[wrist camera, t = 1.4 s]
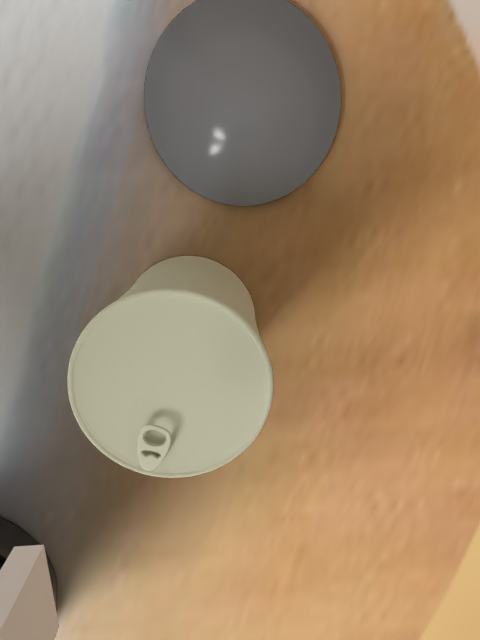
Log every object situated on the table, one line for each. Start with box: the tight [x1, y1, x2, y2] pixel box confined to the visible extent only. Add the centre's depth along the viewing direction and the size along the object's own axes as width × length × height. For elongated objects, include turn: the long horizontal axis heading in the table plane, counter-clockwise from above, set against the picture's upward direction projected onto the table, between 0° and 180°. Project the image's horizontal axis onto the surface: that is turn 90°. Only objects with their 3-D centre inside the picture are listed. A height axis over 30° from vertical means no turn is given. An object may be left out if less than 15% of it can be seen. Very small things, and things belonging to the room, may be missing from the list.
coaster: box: [144, 0, 341, 206], centre depth 26 cm, size 12×12×1 cm
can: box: [67, 256, 274, 478], centre depth 24 cm, size 9×9×12 cm
